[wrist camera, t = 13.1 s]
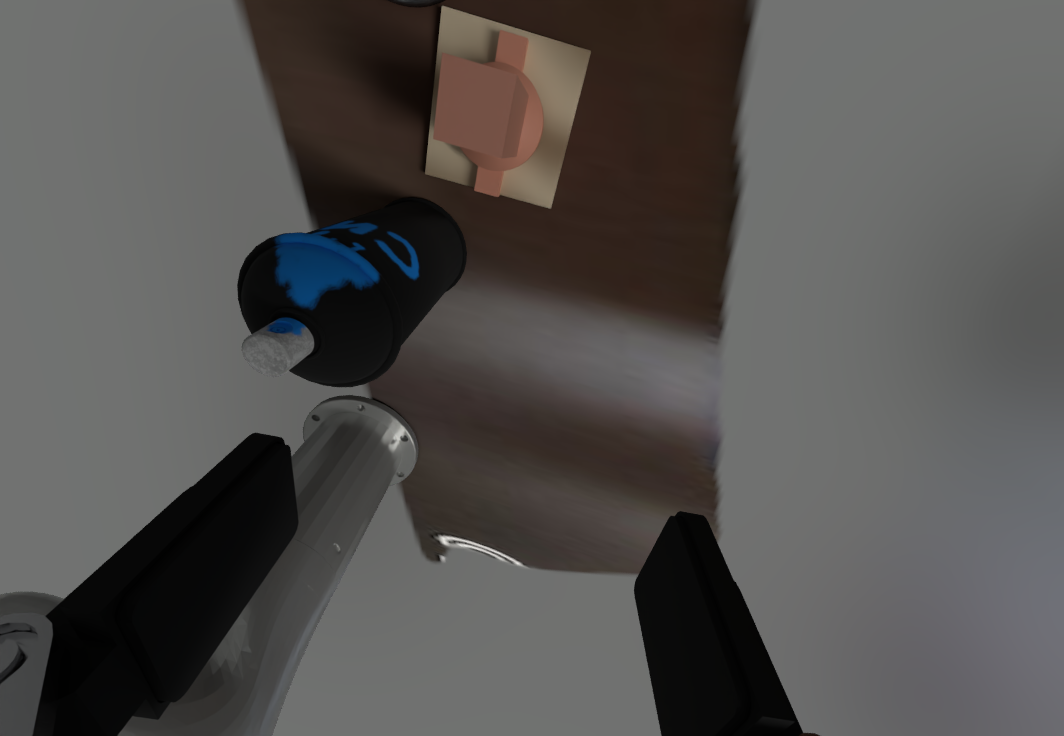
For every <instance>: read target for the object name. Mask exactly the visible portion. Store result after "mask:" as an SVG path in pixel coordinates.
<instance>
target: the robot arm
mask: <svg viewBox="0 0 1064 736" xmlns="http://www.w3.org/2000/svg"><path fill="white" fill-rule="evenodd" d="M303 438H304V441H305V442H304V443H303V445H302V446H301V447H300V448H299V449H298V450H297V451H296V452H295V454H294V455H293V456H292V457H291V450H290V447H289V446H288V445H285V443H284V440H283V439H282V438H280V437H276V436H271V435H265V434H260V433H253V434H251V435H249V436H248V437H247V438H246V439H245V440H244V441H243V442H241V443H240V444H239V445H238V446H237V447H236V448H235V449H234V450H233V451H232V452H231V453H229V454H228V455H227V456H226V457H225V458H224V459H223V460H222V461H220V462H219V463H218V464H217V465H216V466H215V467H214V468H213V469H211V470H210V471H209V472H208V473H207V474H206V475H205V476H204V477H203V478H202V479H200V481H198V482H197V483H196V484H195V485H194V486H192V487H190V488H189V489H188V490H186V491H185V492H183V493H182V494H181V495H180V496H179V497H178V498H176V500H174V501H173V502H172V503H171V504H170V505H169V506H168V507H167V508H165V509H164V510H163V511H162V512H161V513H160V514H159V515H157V516H156V517H155V518H154V519H153V520H152V521H151V522H150V523H149V524H148V525H146V526H145V527H144V528H143V529H142V530H141V531H140V532H139V533H137V534H136V535H135V536H134V537H133V538H132V539H131V540H130V541H128V542H127V543H126V544H125V545H124V546H123V547H122V548H121V549H120V550H118V551H117V552H116V553H115V554H114V555H113V556H112V557H111V558H110V559H108V560H107V561H106V562H105V563H104V564H103V565H102V566H101V567H99V568H98V570H96V571H95V572H94V573H93V574H92V575H91V576H90V577H88V578H87V579H86V580H85V581H84V582H83V583H82V584H81V585H79V587H77V588H76V589H75V590H74V591H73V592H72V593H70V594H69V595H68V596H67V597H66V598H65V599H63V598H60V597H57V596H54V595H49V594H45V593H37V592H13V593H6V594H1V595H0V736H272V734H273V731H274V728H275V726H276V723H277V720H278V717H279V714H280V711H281V709H282V706H283V703H284V700H285V698H286V695H287V692H288V690H289V688H290V685H291V683H292V680H293V678H294V675H295V673H296V671H297V668H298V666H299V663H300V661H301V659H302V657H303V655H304V652H305V650H306V648H307V646H308V644H309V641H310V639H311V637H312V635H313V633H314V631H315V629H316V627H317V625H318V623H319V621H320V619H321V617H322V615H323V613H324V611H325V609H326V607H327V605H328V603H329V601H330V599H331V597H332V595H333V593H334V592H335V590H336V588H337V586H338V584H339V582H340V580H341V578H342V576H343V574H344V572H345V570H346V568H347V566H348V564H349V562H350V561H351V559H352V556H353V555H354V553H355V551H356V549H357V547H358V545H359V543H360V541H361V539H362V537H363V535H364V533H365V531H366V529H367V527H368V525H369V524H370V522H371V520H372V518H373V516H374V513H375V512H376V510H377V508H378V505H379V504H380V502H381V500H382V498H383V496H384V494H385V492H386V490H387V488H388V487H389V486H392V485H394V484H397V483H399V482H401V481H402V480H404V479H405V478H406V477H407V476H408V475H409V474H410V473H411V471H412V470H413V468H414V466H415V463H416V461H417V459H418V451H419V450H418V442H417V440H416V437H415V434H414V432H413V431H412V429H411V427H410V426H409V425H408V423H407V422H406V421H405V420H404V419H403V418H402V417H401V416H400V415H399V414H398V413H396V412H395V411H394V410H392V409H391V408H389V407H387V406H386V405H384V404H382V403H380V402H377V401H375V400H372V399H369V398H365V397H361V396H353V395H346V396H337V397H333V398H329V399H327V400H325V401H323V402H321V403H320V404H319V405H317V406H316V407H315V408H314V409H313V410H312V411H311V412H310V413H309V415H308V417H307V418H306V420H305V423H304V427H303ZM634 594H635V600H636V605H637V610H638V616H639V621H640V626H641V631H642V636H643V642H644V647H645V652H646V657H647V662H648V668H649V673H650V678H651V683H652V688H653V694H654V699H655V704H656V709H657V714H658V720H659V724H660V730H661V735H662V736H820V735H817V734H815V733H803V731H802V729H801V727H800V725H799V722H798V720H797V718H796V716H795V714H794V711H793V709H792V707H791V704H790V702H789V700H788V698H787V695H786V693H785V691H784V689H783V686H782V684H781V682H780V679H779V677H778V675H777V673H776V670H775V668H774V666H773V664H772V661H771V659H770V657H769V654H768V652H767V650H766V648H765V645H764V643H763V641H762V639H761V637H760V634H759V632H758V630H757V627H756V625H755V623H754V621H753V618H752V616H751V614H750V612H749V609H748V607H747V605H746V603H745V601H744V598H743V596H742V593H741V591H740V589H739V587H738V586H737V584H736V582H735V581H734V580H733V578H732V576H731V573H730V571H729V569H728V566H727V564H726V562H725V560H724V557H723V555H722V553H721V550H720V548H719V546H718V544H717V541H716V539H715V537H714V534H713V532H712V530H711V528H710V525H709V523H708V521H707V519H706V518H705V517H704V516H703V515H698V514H693V513H687V512H682V511H679V512H678V513H677V514H676V515H675V516H670V517H669V519H668V521H667V522H666V524H665V526H664V528H663V530H662V532H661V534H660V536H659V537H658V539H657V541H656V543H655V545H654V547H653V549H652V551H651V553H650V554H649V556H648V558H647V560H646V562H645V564H644V566H643V568H642V569H641V571H640V573H639V575H638V577H637V579H636V581H635V587H634Z"/></svg>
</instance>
